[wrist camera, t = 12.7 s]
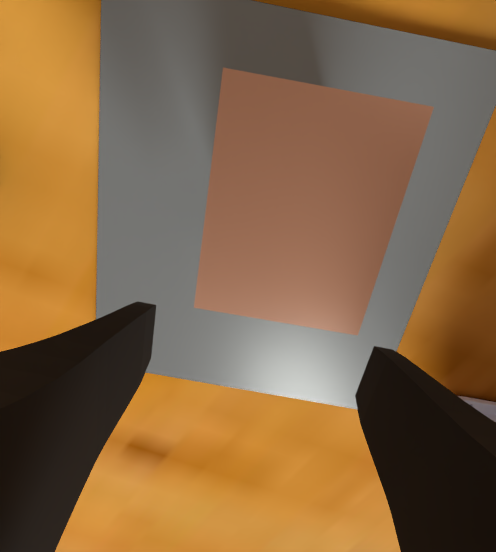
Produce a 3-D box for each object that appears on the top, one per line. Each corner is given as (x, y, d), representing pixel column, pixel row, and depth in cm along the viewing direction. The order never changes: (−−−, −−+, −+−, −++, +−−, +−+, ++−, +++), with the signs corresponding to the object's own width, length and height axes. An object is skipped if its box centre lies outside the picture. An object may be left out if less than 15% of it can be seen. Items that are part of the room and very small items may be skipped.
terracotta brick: (359, 126, 11) (433, 107, 6) (322, 267, 13) (357, 335, 8) (240, 104, 11) (223, 67, 6) (219, 249, 12) (193, 307, 8)
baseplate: (503, 59, 15) (517, 53, 14) (368, 403, 22) (372, 413, 21) (110, -21, 14) (100, -32, 14) (101, 356, 22) (94, 364, 21)
